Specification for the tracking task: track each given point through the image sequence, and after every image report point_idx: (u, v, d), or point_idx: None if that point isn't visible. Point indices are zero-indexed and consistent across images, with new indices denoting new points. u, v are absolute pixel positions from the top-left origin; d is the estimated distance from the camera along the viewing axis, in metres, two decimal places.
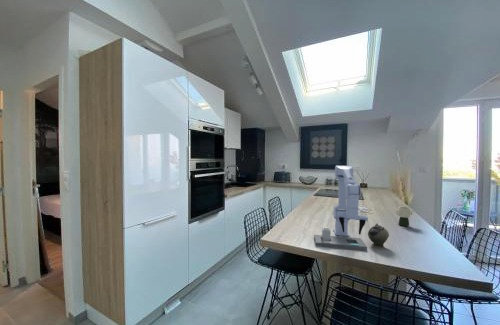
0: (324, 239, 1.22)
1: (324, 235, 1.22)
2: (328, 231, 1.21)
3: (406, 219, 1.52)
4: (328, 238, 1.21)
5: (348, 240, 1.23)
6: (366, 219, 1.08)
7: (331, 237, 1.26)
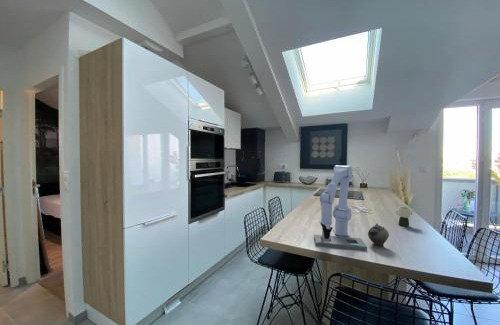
0: (324, 239, 1.22)
1: None
2: None
3: (406, 219, 1.52)
4: None
5: (348, 240, 1.23)
6: (326, 226, 1.17)
7: (331, 237, 1.26)
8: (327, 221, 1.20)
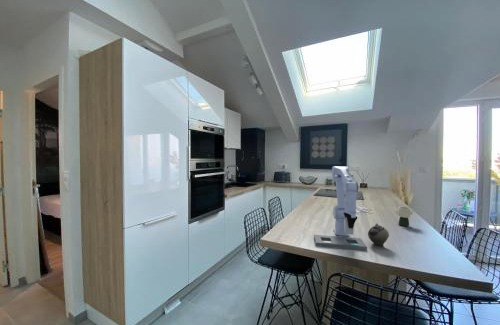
0: (347, 229, 1.19)
1: (347, 225, 1.19)
2: None
3: (406, 219, 1.52)
4: None
5: (348, 240, 1.23)
6: (351, 215, 1.14)
7: (331, 237, 1.26)
8: (351, 210, 1.17)
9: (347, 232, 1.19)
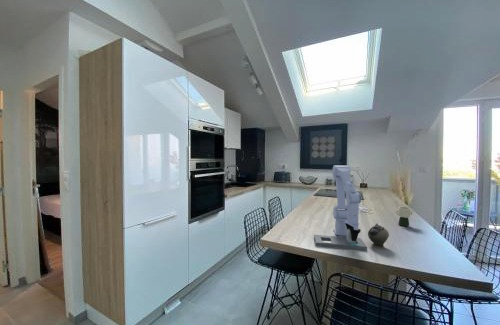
0: (349, 241, 1.19)
1: (349, 237, 1.19)
2: None
3: (406, 219, 1.52)
4: None
5: None
6: (353, 227, 1.14)
7: (331, 237, 1.26)
8: (354, 222, 1.17)
9: None
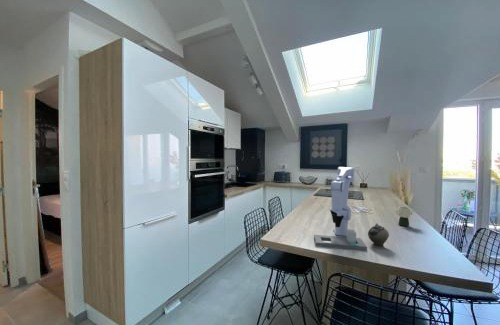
0: (349, 241, 1.19)
1: (349, 237, 1.19)
2: (354, 233, 1.18)
3: (406, 219, 1.52)
4: (354, 240, 1.18)
5: None
6: (337, 213, 1.18)
7: (331, 237, 1.26)
8: (338, 209, 1.22)
9: None
